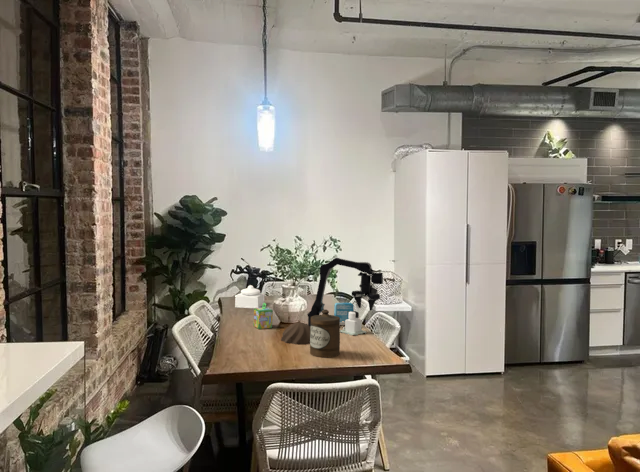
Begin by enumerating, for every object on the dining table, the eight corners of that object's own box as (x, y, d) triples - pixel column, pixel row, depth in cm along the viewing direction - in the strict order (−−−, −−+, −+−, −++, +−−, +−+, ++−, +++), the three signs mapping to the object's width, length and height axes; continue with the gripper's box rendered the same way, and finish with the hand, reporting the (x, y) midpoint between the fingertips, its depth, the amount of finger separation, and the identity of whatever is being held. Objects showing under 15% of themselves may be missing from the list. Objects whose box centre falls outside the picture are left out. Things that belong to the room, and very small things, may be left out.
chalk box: (253, 326, 302) (253, 302, 301) (267, 325, 306) (267, 301, 305) (258, 329, 293) (258, 305, 293) (272, 328, 298) (273, 304, 297)
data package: (335, 322, 319) (335, 303, 319) (333, 320, 324) (334, 302, 323) (353, 321, 321) (353, 303, 321) (351, 320, 326) (352, 302, 325)
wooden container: (303, 353, 245) (304, 309, 244) (324, 347, 255) (325, 306, 254) (324, 359, 234) (325, 313, 233) (345, 354, 245) (346, 310, 244)
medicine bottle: (351, 329, 295) (352, 310, 295) (361, 331, 291) (362, 311, 290) (344, 331, 290) (345, 311, 289) (354, 333, 285) (355, 313, 285)
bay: (343, 331, 294) (343, 327, 294) (329, 327, 304) (329, 323, 304) (359, 328, 303) (359, 325, 303) (344, 324, 312) (344, 321, 312)
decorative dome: (307, 334, 284) (307, 317, 284) (322, 342, 266) (322, 324, 266) (276, 337, 276) (276, 319, 275) (289, 346, 258) (289, 327, 257)
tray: (353, 335, 282) (353, 333, 282) (340, 332, 291) (340, 330, 291) (366, 333, 290) (366, 331, 290) (353, 329, 298) (353, 327, 298)
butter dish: (257, 308, 361) (258, 287, 360) (234, 307, 364) (234, 286, 363) (264, 304, 378) (264, 284, 377) (242, 303, 381) (242, 283, 380)
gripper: (386, 284, 294) (385, 310, 294) (363, 280, 308) (363, 305, 308) (373, 285, 287) (373, 312, 287) (351, 282, 301) (350, 307, 301)
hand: (365, 309), depth 296 cm, fingers open, 9 cm apart
